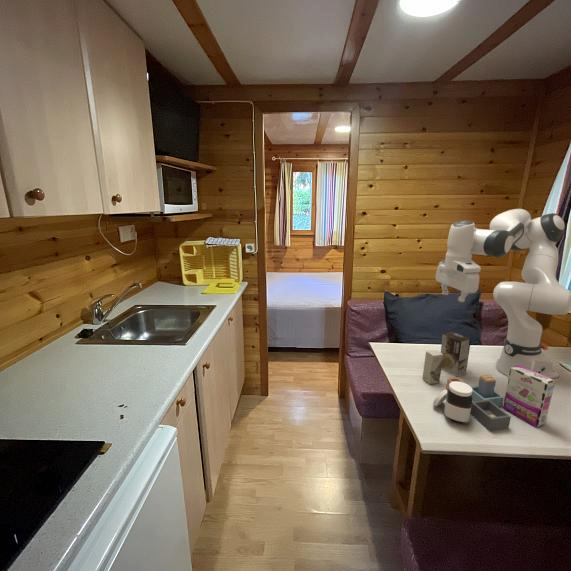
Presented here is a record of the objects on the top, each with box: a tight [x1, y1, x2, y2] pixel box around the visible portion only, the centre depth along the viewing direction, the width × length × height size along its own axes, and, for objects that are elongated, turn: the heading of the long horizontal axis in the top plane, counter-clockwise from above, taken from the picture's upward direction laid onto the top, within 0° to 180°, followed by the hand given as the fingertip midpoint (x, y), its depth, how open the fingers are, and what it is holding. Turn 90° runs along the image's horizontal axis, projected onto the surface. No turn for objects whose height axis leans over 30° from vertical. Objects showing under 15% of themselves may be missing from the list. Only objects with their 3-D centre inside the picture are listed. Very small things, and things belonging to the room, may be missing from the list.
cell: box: [477, 374, 497, 398], centre depth 113 cm, size 4×4×10 cm
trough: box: [470, 385, 505, 408], centre depth 114 cm, size 8×8×4 cm
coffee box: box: [440, 331, 472, 377], centre depth 133 cm, size 9×6×16 cm
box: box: [422, 349, 443, 385], centre depth 126 cm, size 5×4×13 cm
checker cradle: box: [470, 400, 512, 432], centre depth 104 cm, size 7×10×4 cm
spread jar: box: [432, 381, 473, 424], centre depth 106 cm, size 12×11×12 cm
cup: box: [445, 377, 465, 390], centre depth 119 cm, size 4×4×5 cm
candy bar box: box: [502, 365, 556, 428], centre depth 104 cm, size 11×5×16 cm, turn 24°
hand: (452, 297), depth 123 cm, fingers open, 8 cm apart
